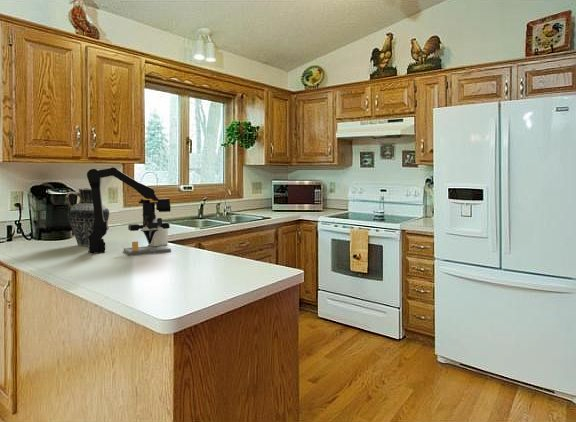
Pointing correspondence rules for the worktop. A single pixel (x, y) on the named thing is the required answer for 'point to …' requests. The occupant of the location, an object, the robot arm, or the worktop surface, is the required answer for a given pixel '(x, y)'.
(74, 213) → the dark patterned vase
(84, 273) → the worktop surface
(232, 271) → the worktop surface
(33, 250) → the worktop surface
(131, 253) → the grey rectangular panel
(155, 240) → the fader
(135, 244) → the fader
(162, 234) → the cup
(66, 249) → the worktop surface
